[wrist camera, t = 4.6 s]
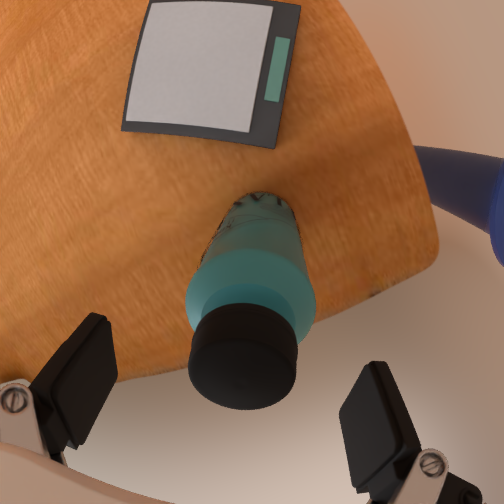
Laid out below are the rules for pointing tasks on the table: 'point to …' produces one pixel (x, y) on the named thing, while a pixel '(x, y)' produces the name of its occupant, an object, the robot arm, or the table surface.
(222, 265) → the beverage bottle
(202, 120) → the scale
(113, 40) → the table surface
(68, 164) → the table surface
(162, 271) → the table surface
